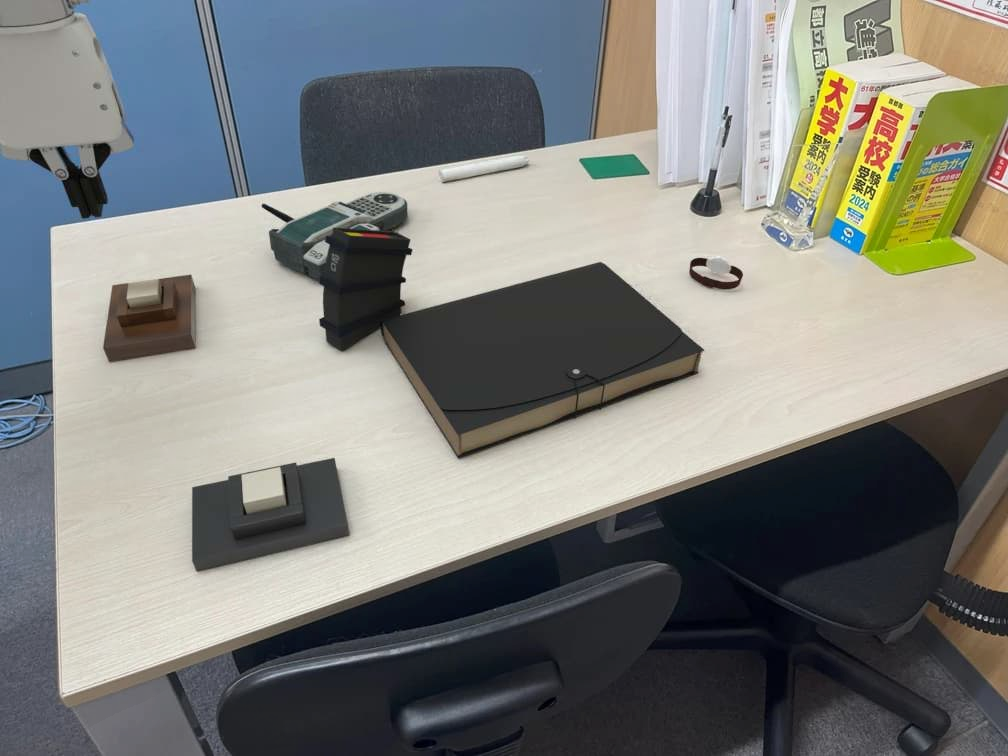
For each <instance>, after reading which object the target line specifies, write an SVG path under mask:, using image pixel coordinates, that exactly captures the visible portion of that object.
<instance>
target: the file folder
mask: <svg viewBox="0 0 1008 756" xmlns="http://www.w3.org/2000/svg"><path fill="white" fill-rule="evenodd" d="M379 330H380V332H381V336H382V338H383V341H384V343H385V345H386V347H387V348H388V350H389V351H390V353H391V354H392V356H393V357H394V359H395V361H396V362H397V364H398V365H399V367H400V369H401V370H402V371H403V373H404V375H405V377H406V378H407V379H408V381H409V382H410V384H411V386H412V387H413V389H414V390H415V392H416V394H417V396H418V397H419V398H420V400H421V402H422V404H423V405H424V406H425V408H426V410H427V411H428V413H429V415H430V416H431V417H432V419H433V420H434V422H435V424H436V425H437V427H438V429H439V430H440V432H441V433H442V435H443V436H444V438H445V439H446V441H447V443H448V444H449V446H450V447H451V449H452V450H453V452H454V454H455V455H456V457H457V458H458V459H461V458H463V457H466V456H469V455H472V454H475V453H477V452H480V451H483V450H485V449H488V448H491V447H494V446H497V445H500V444H503V443H506V442H508V441H511V440H513V439H516V438H519V437H522V436H524V435H525V436H526V435H527V434H530V433H533V432H537V431H539V430H542V429H544V428H547V427H550V426H552V425H556V424H558V423H561V422H564V421H566V420H569V419H572V418H573V419H576V418H577V417H578V416H581V415H584V414H586V413H589V412H592V411H594V410H595V411H596V410H602V408H604V407H606V406H609V405H611V404H615V403H617V402H620V401H623V400H625V399H628V398H631V397H634V396H637V395H640V394H642V393H645V392H648V391H651V390H654V389H656V388H659V387H662V386H665V385H667V384H671V383H673V382H676V381H679V380H682V379H684V378H687V377H689V376H693V375H696V374H699V367H700V366H699V365H700V363H701V358H702V356H703V354H702V353H703V352H705V351H706V350H705V349H704V348H703V347H702V346H701V345H700V344H698V343H697V342H695V341H694V340H693V339H692V338H691V337H690V336H688V335H687V333H685V332H684V331H683V330H682V328H681V327H680V326H679V325H677V324H676V323H675V322H674V321H673V320H672V319H670V318H669V317H668V316H667V315H666V314H664V313H663V312H662V311H661V310H660V309H659V308H657V306H655V305H654V304H653V303H652V302H650V300H648V299H647V298H645V296H644V295H642V294H641V293H640V292H639V291H638V290H636V289H635V288H634V287H633V286H632V285H630V284H629V283H628V282H627V281H626V280H625V279H624V278H623V277H621V276H620V275H619V274H618V273H616V271H614V270H613V269H612V268H610V267H609V266H608V265H607V264H606V263H603V262H602V261H598V262H595V263H590V264H587V265H582V266H579V267H576V268H572V269H568V270H565V271H561V272H557V273H552V274H549V275H546V276H542V277H538V278H534V279H531V280H526V281H523V282H519V283H515V284H512V285H509V286H505V287H501V288H496V289H494V290H493V289H492V290H489V291H485V292H482V293H477V294H475V295H471V296H467V297H463V298H460V299H456V300H451V301H449V302H445V303H440V304H437V305H433V306H430V307H425V308H422V309H418V310H415V311H414V310H413V311H411V312H406V313H403V314H401V315H399V316H395V317H392V318H388V319H384V320H381V321H380V328H379Z"/></svg>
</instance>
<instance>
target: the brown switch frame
mask: <svg viewBox="0 0 1008 756" xmlns="http://www.w3.org/2000/svg"><path fill="white" fill-rule="evenodd" d="M158 279H159V282H160V285H161V288H162V303H161V304H158V305H151V306H144V307H138V308H131V309H130V306H129V304H128V301H127V291H128V283H129V282H125V283H119V284H112V285H111V290H110V291H111V292H110V299H109V304H108V305H109V306H108V313H107V319H106V324H105V325H106V326H105V331H104V338H103V346H102V349H103V351H104V354H105V356H106V359H107V360H108V362H109V363H110V362H116V361H124V360H127V359H128V360H129V359H135V358H141V357H147V356H154V355H160V354H161V355H162V354H166V353H173V352H180V351H185V350H191V349H196V348H197V347H196V345H197V344H196V337H197V335H196V284H195V282H194V278H193V275H192V274H185V275H177V276H170V277H162V278H158ZM140 281H141V280H139V281H138V282H140Z"/></svg>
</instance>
